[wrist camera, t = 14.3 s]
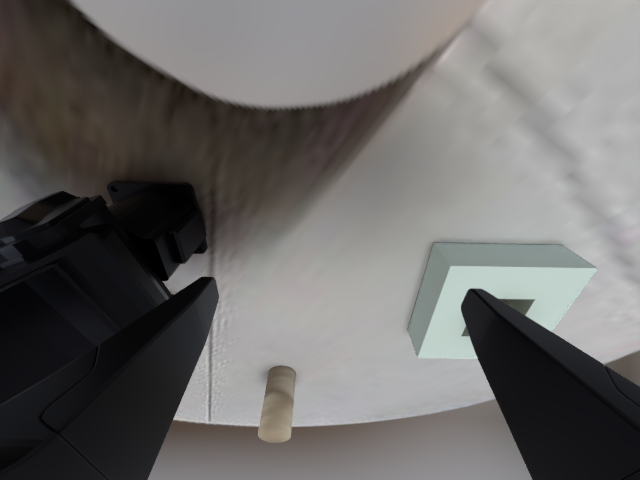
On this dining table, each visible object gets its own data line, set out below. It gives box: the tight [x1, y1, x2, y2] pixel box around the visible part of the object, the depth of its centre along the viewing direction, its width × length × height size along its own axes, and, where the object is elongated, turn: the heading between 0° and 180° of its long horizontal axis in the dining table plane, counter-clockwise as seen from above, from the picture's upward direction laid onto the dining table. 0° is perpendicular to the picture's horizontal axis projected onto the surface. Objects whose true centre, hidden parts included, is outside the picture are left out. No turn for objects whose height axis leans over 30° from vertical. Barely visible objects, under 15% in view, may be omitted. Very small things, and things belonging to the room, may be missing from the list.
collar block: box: [408, 243, 598, 359], centre depth 25 cm, size 12×12×4 cm
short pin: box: [258, 366, 296, 443], centre depth 31 cm, size 4×4×7 cm
